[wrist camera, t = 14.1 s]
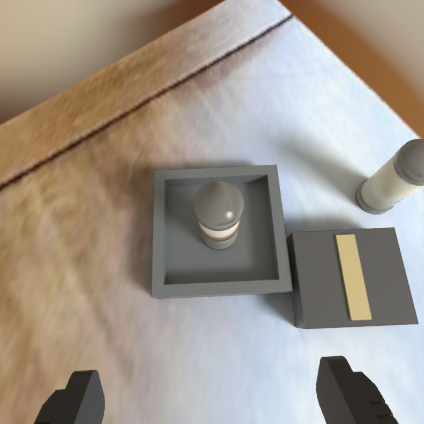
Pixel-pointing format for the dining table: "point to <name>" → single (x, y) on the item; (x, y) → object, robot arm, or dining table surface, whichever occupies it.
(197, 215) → the ball
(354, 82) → the dining table surface
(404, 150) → the fuse
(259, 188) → the parts tray
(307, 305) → the block
